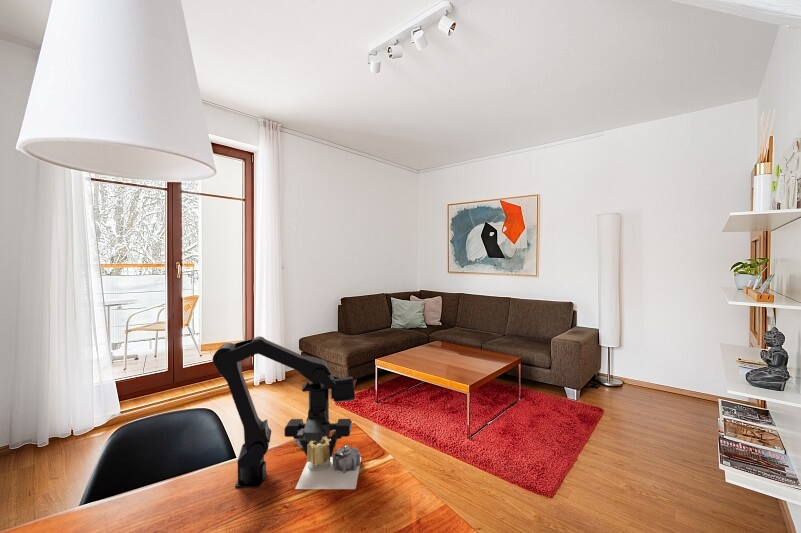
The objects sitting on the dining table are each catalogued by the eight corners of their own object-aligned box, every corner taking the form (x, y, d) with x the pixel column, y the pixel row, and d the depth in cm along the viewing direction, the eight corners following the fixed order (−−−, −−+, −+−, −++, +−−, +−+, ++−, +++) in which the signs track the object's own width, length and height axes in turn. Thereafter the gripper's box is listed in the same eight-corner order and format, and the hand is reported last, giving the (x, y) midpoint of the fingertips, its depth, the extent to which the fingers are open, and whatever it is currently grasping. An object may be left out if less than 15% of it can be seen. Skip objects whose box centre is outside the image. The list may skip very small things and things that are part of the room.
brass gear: (305, 465, 103) (304, 448, 103) (310, 452, 110) (310, 436, 110) (328, 465, 103) (328, 448, 103) (332, 452, 110) (332, 436, 110)
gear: (330, 473, 103) (330, 453, 103) (335, 457, 111) (335, 439, 111) (358, 473, 103) (358, 453, 103) (361, 457, 111) (361, 439, 111)
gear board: (295, 494, 96) (294, 466, 96) (309, 462, 111) (309, 437, 111) (355, 494, 96) (355, 466, 96) (361, 462, 111) (361, 437, 111)
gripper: (277, 416, 98) (278, 472, 99) (346, 415, 98) (347, 472, 99) (290, 399, 109) (290, 450, 110) (352, 399, 109) (352, 450, 110)
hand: (319, 456), depth 107 cm, fingers closed on brass gear, 6 cm apart
